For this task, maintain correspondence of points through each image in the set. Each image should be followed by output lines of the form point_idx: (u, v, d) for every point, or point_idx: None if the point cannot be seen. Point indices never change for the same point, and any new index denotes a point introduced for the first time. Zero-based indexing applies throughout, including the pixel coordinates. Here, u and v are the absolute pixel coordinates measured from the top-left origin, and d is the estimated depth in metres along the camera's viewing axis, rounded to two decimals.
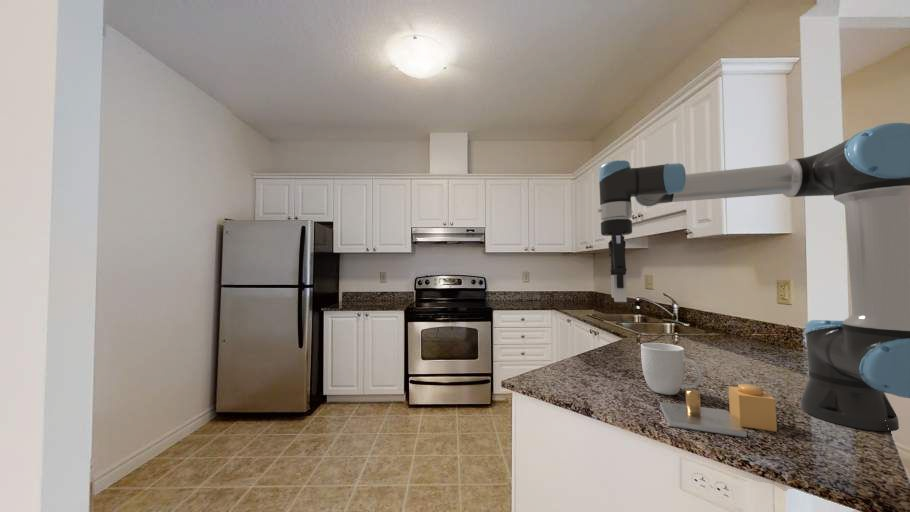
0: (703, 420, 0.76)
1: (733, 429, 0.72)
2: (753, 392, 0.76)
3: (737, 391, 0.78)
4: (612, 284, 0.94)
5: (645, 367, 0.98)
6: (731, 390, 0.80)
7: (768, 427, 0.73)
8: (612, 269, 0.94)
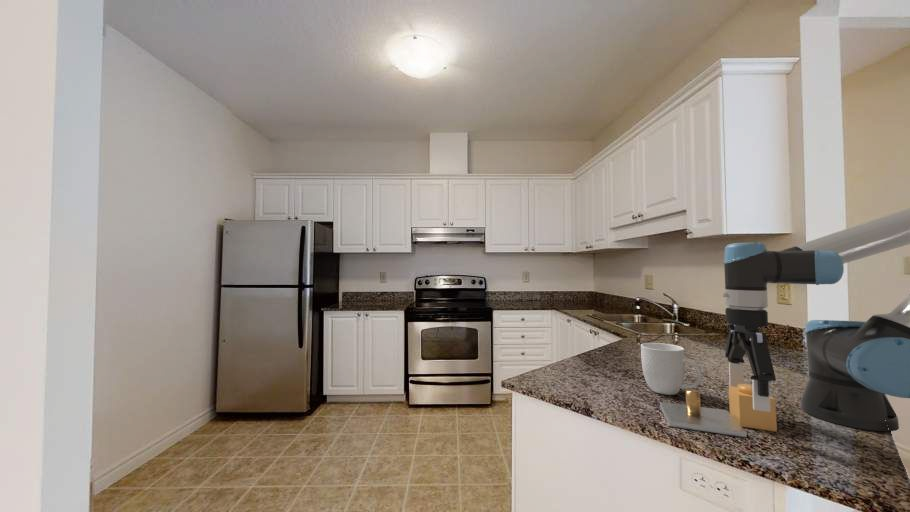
0: (703, 420, 0.76)
1: (733, 429, 0.72)
2: None
3: (737, 391, 0.78)
4: (731, 374, 0.84)
5: (645, 367, 0.98)
6: (731, 390, 0.80)
7: (768, 427, 0.73)
8: (732, 357, 0.84)
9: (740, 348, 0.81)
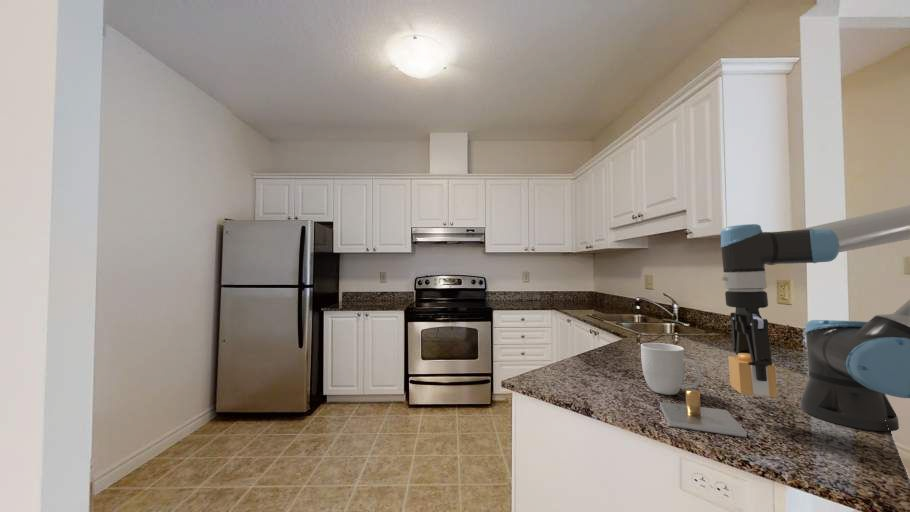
0: (703, 420, 0.76)
1: (733, 429, 0.72)
2: None
3: (737, 360, 0.78)
4: None
5: (645, 367, 0.98)
6: (731, 359, 0.80)
7: None
8: (739, 349, 0.81)
9: (745, 335, 0.80)
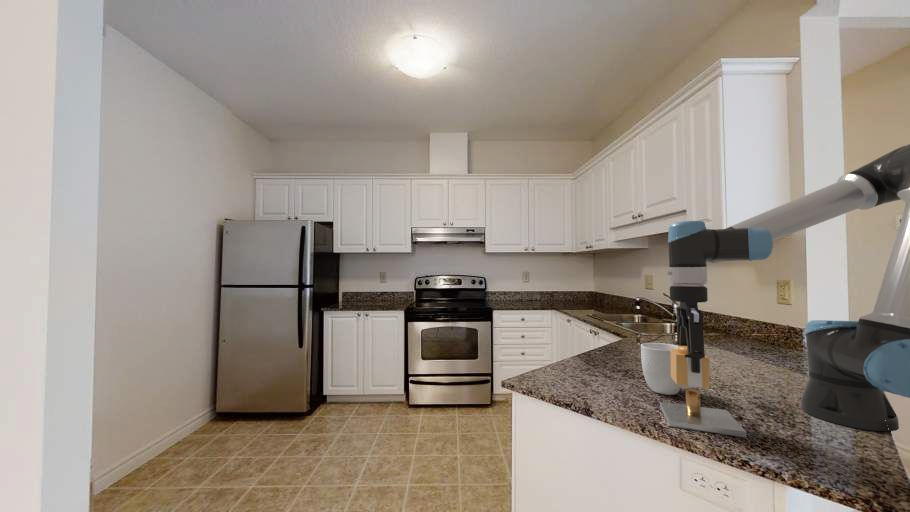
0: (703, 420, 0.76)
1: (733, 429, 0.72)
2: None
3: (676, 352, 0.80)
4: None
5: (645, 367, 0.98)
6: (672, 352, 0.82)
7: (702, 385, 0.76)
8: (681, 342, 0.83)
9: None
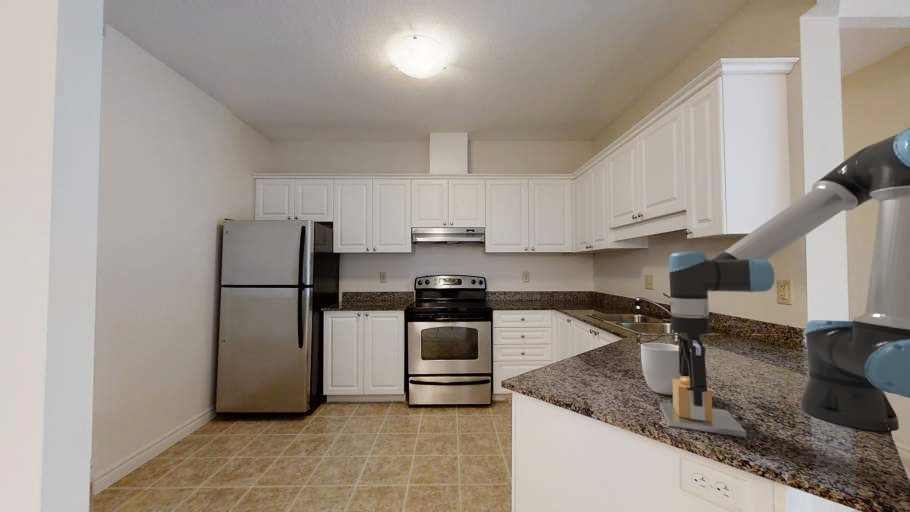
0: None
1: (733, 429, 0.72)
2: None
3: (678, 383, 0.80)
4: None
5: (645, 367, 0.98)
6: (674, 382, 0.82)
7: None
8: (683, 372, 0.83)
9: None
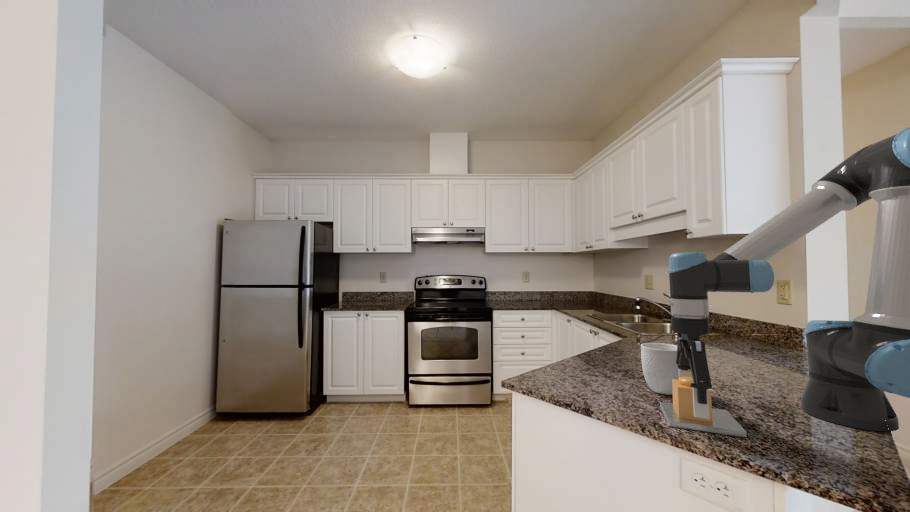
0: None
1: (733, 429, 0.72)
2: None
3: (678, 383, 0.80)
4: None
5: (645, 367, 0.98)
6: (673, 383, 0.82)
7: (704, 418, 0.76)
8: (680, 364, 0.86)
9: None
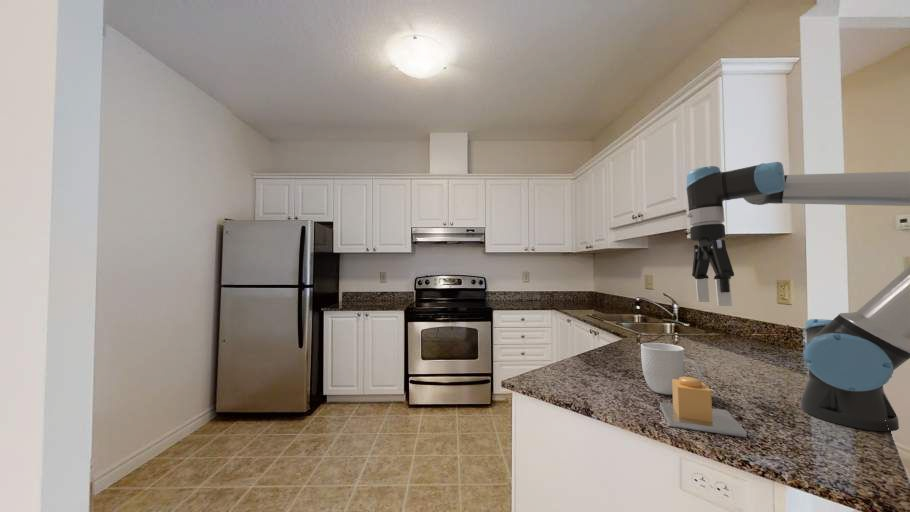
0: None
1: (733, 429, 0.72)
2: (691, 384, 0.78)
3: (678, 383, 0.80)
4: (698, 288, 0.95)
5: (645, 367, 0.98)
6: (673, 383, 0.82)
7: (704, 418, 0.76)
8: (698, 273, 0.95)
9: (704, 263, 0.93)
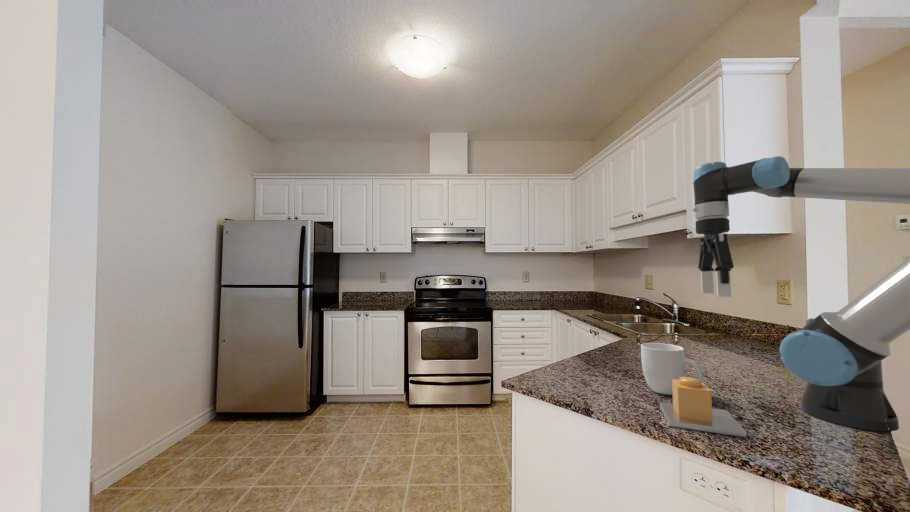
0: None
1: (733, 429, 0.72)
2: (691, 384, 0.78)
3: (678, 383, 0.80)
4: (703, 280, 0.99)
5: (645, 367, 0.98)
6: (673, 383, 0.82)
7: (704, 418, 0.76)
8: (703, 266, 0.99)
9: (709, 256, 0.96)
